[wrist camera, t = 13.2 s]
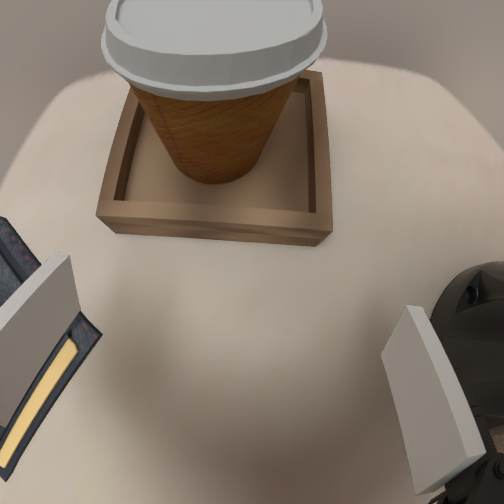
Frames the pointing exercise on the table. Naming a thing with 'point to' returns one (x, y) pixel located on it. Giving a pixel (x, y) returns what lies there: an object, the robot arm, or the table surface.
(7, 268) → the wallet
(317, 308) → the table surface
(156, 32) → the disposable coffee cup
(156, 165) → the tray
